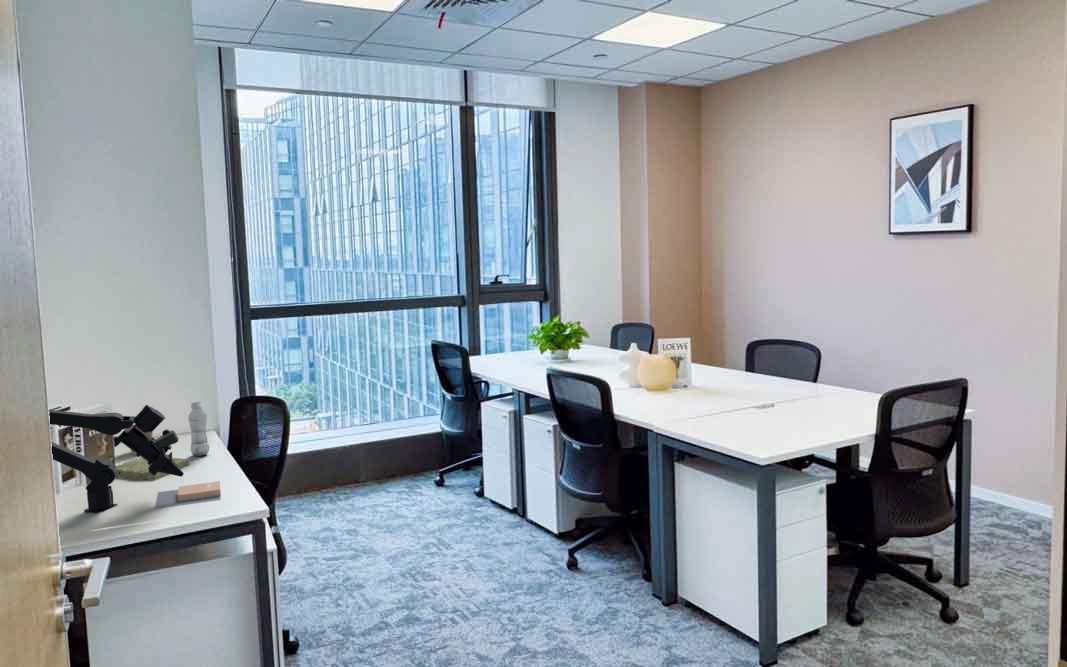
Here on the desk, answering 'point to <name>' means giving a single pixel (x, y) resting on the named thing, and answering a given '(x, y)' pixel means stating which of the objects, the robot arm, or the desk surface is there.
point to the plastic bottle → (198, 430)
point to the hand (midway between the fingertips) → (182, 475)
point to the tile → (199, 491)
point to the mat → (172, 499)
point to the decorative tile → (144, 469)
